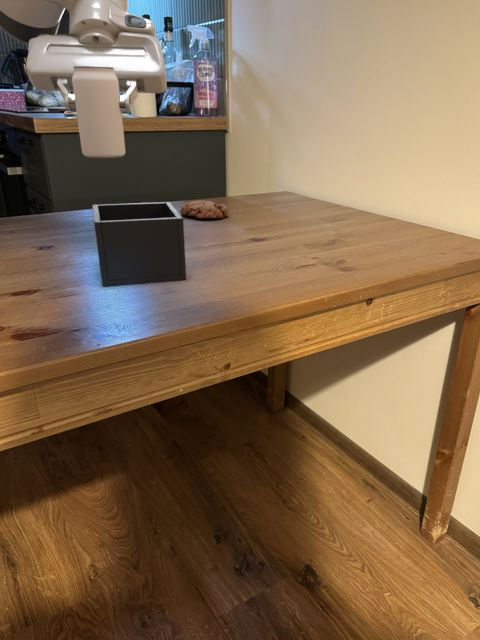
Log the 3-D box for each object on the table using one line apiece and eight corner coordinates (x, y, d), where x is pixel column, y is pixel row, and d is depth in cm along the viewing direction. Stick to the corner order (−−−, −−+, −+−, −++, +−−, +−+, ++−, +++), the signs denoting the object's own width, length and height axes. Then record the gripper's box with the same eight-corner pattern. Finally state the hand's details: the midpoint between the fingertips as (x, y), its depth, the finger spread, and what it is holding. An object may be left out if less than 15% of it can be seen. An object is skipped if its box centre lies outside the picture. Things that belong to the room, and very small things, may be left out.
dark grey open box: (102, 286, 68) (94, 222, 64) (99, 261, 78) (92, 204, 74) (186, 279, 72) (183, 218, 68) (173, 256, 81) (170, 201, 77)
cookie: (185, 210, 113) (184, 196, 112) (231, 212, 113) (231, 198, 111) (175, 220, 104) (174, 205, 103) (225, 222, 104) (225, 207, 102)
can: (118, 152, 81) (109, 68, 76) (131, 157, 76) (123, 67, 71) (77, 154, 78) (65, 66, 72) (89, 159, 73) (76, 65, 68)
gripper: (22, 15, 73) (16, 90, 69) (163, 21, 76) (166, 93, 72) (35, 52, 79) (31, 123, 75) (166, 56, 82) (168, 125, 78)
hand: (98, 109), depth 73 cm, fingers closed on can, 6 cm apart
